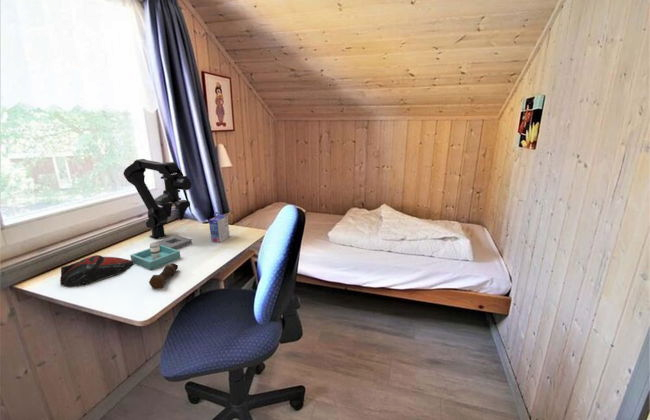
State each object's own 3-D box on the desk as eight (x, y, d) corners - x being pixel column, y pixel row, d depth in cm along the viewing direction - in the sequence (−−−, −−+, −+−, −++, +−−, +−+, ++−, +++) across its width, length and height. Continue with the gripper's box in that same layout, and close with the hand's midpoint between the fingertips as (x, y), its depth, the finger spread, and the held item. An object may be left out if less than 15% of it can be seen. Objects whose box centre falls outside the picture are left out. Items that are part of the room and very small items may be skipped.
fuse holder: (155, 246, 154) (154, 242, 154) (176, 238, 164) (176, 235, 164) (170, 251, 149) (170, 247, 148) (192, 243, 159) (191, 239, 158)
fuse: (149, 259, 139) (147, 244, 137) (157, 256, 142) (155, 241, 140) (154, 261, 137) (152, 246, 135) (162, 257, 140) (161, 243, 138)
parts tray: (131, 262, 137) (130, 254, 136) (161, 251, 149) (160, 244, 148) (150, 270, 131) (149, 262, 130) (180, 258, 142) (179, 251, 141)
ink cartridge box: (220, 235, 171) (218, 210, 167) (229, 236, 170) (228, 210, 166) (210, 242, 161) (208, 215, 157) (219, 243, 160) (217, 216, 156)
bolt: (177, 274, 132) (159, 292, 117) (166, 268, 131) (146, 286, 116) (183, 263, 130) (165, 279, 116) (172, 257, 130) (153, 273, 115)
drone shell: (52, 289, 115) (48, 269, 113) (81, 265, 134) (77, 248, 132) (116, 284, 119) (113, 265, 117) (135, 262, 138) (133, 245, 136)
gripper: (144, 188, 153) (148, 219, 157) (168, 193, 144) (172, 225, 148) (165, 184, 162) (169, 213, 166) (189, 189, 153) (192, 219, 157)
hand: (175, 218), depth 159 cm, fingers open, 9 cm apart
